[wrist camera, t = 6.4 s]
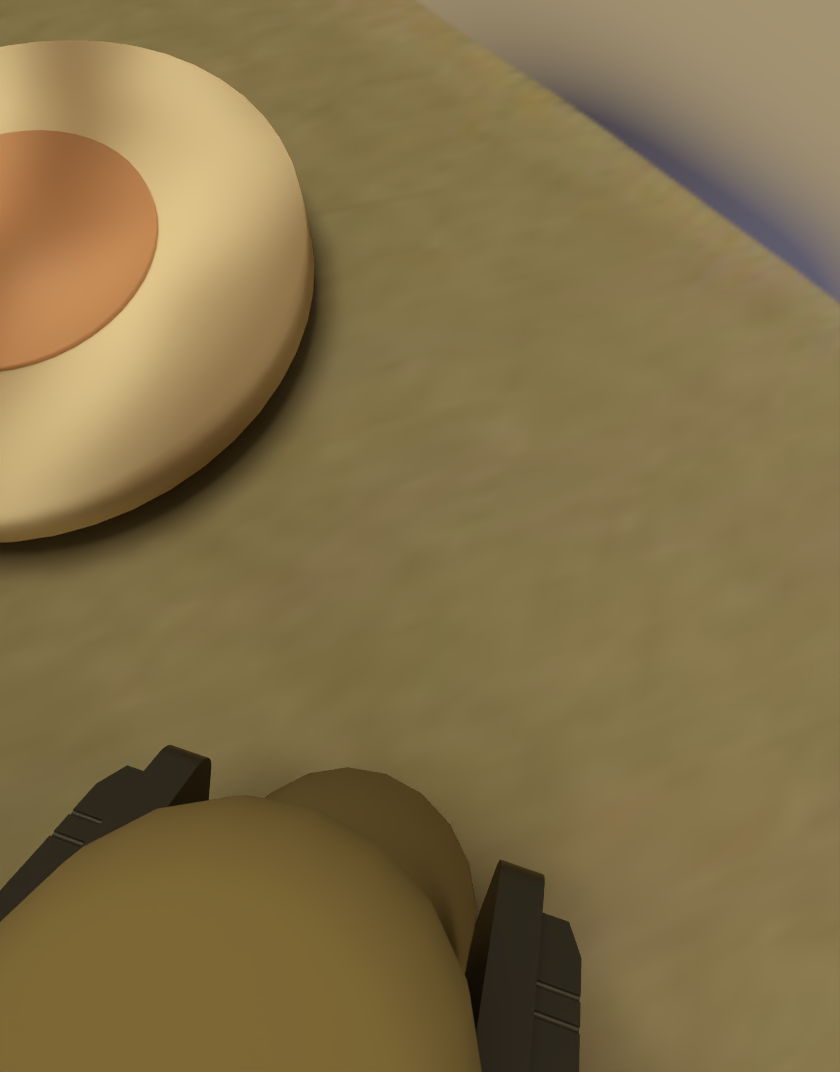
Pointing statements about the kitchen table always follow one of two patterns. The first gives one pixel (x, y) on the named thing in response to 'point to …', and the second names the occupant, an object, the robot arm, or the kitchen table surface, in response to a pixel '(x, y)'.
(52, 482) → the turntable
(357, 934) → the brown pepper shaker
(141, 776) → the robot arm
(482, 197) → the kitchen table surface
